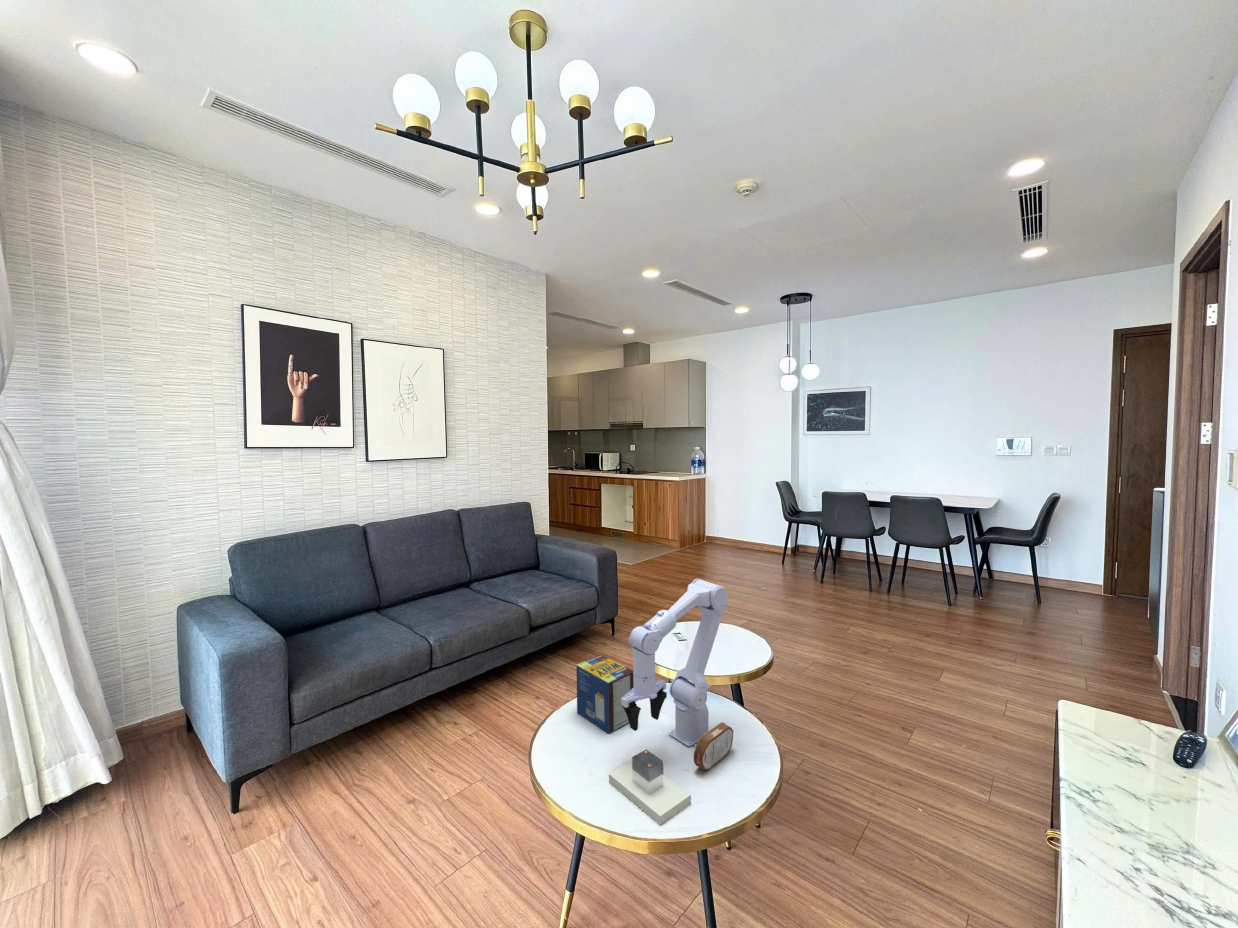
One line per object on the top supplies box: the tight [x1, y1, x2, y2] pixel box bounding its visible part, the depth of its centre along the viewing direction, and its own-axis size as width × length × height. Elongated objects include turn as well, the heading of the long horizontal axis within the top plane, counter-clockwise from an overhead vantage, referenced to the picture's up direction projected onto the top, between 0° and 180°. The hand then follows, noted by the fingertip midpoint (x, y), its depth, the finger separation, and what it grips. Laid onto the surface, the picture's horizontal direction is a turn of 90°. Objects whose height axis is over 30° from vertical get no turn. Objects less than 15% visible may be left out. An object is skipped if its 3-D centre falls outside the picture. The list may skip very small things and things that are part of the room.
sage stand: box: [608, 760, 692, 825], centre depth 119 cm, size 10×18×2 cm, turn 40°
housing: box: [631, 749, 664, 795], centre depth 119 cm, size 5×6×6 cm
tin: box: [693, 722, 734, 771], centre depth 130 cm, size 15×3×8 cm, turn 135°
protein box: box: [576, 654, 634, 735], centre depth 151 cm, size 10×15×16 cm
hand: (644, 723), depth 132 cm, fingers open, 7 cm apart
